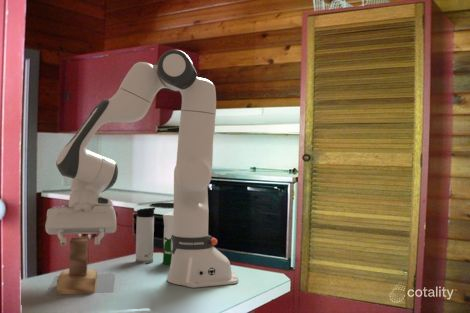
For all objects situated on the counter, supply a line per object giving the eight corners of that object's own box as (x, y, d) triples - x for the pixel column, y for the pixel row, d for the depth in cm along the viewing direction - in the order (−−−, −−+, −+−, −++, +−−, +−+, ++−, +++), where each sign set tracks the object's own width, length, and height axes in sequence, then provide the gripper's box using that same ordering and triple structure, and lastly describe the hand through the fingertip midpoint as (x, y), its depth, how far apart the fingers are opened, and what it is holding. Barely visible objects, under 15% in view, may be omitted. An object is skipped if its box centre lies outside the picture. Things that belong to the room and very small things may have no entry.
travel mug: (150, 264, 167) (151, 208, 167) (132, 263, 168) (134, 207, 168) (156, 260, 173) (157, 206, 173) (139, 259, 174) (141, 206, 174)
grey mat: (115, 275, 150) (115, 274, 150) (113, 294, 130) (113, 291, 130) (56, 277, 146) (56, 275, 146) (44, 296, 126) (44, 294, 126)
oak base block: (97, 282, 139) (97, 269, 139) (94, 292, 129) (95, 278, 129) (61, 284, 137) (62, 270, 137) (56, 294, 127) (56, 279, 127)
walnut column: (87, 272, 136) (88, 237, 136) (85, 276, 131) (86, 240, 131) (71, 272, 135) (71, 238, 135) (69, 276, 130) (69, 240, 130)
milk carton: (191, 261, 173) (192, 207, 173) (181, 266, 165) (182, 210, 165) (170, 259, 176) (171, 206, 176) (159, 264, 167) (160, 208, 167)
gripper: (46, 200, 139) (40, 238, 130) (117, 199, 144) (116, 236, 135) (48, 213, 144) (43, 251, 134) (117, 212, 149) (116, 249, 139)
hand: (80, 244), depth 135 cm, fingers open, 8 cm apart
